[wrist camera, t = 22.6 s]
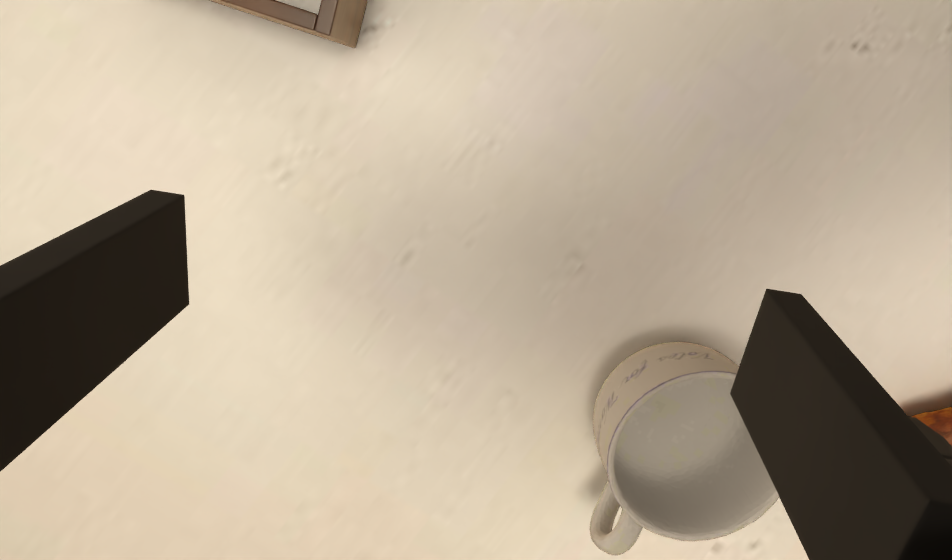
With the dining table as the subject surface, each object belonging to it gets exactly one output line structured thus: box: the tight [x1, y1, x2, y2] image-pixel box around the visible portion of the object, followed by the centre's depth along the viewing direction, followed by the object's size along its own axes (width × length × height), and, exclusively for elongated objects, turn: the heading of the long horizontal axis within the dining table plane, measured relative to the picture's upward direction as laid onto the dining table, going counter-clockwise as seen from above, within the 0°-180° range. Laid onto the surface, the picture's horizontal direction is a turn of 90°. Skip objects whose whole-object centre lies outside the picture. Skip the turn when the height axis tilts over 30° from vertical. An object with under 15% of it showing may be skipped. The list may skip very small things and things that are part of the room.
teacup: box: [590, 342, 779, 555], centre depth 41 cm, size 14×11×8 cm
